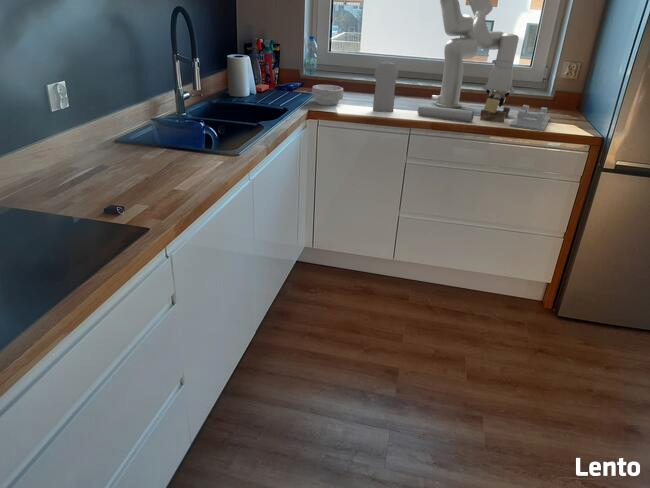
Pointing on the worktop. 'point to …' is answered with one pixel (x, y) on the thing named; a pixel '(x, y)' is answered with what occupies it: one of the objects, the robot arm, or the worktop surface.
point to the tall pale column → (385, 87)
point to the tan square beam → (493, 102)
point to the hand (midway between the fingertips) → (495, 105)
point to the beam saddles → (495, 115)
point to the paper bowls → (327, 94)
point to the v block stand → (531, 119)
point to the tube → (446, 113)
